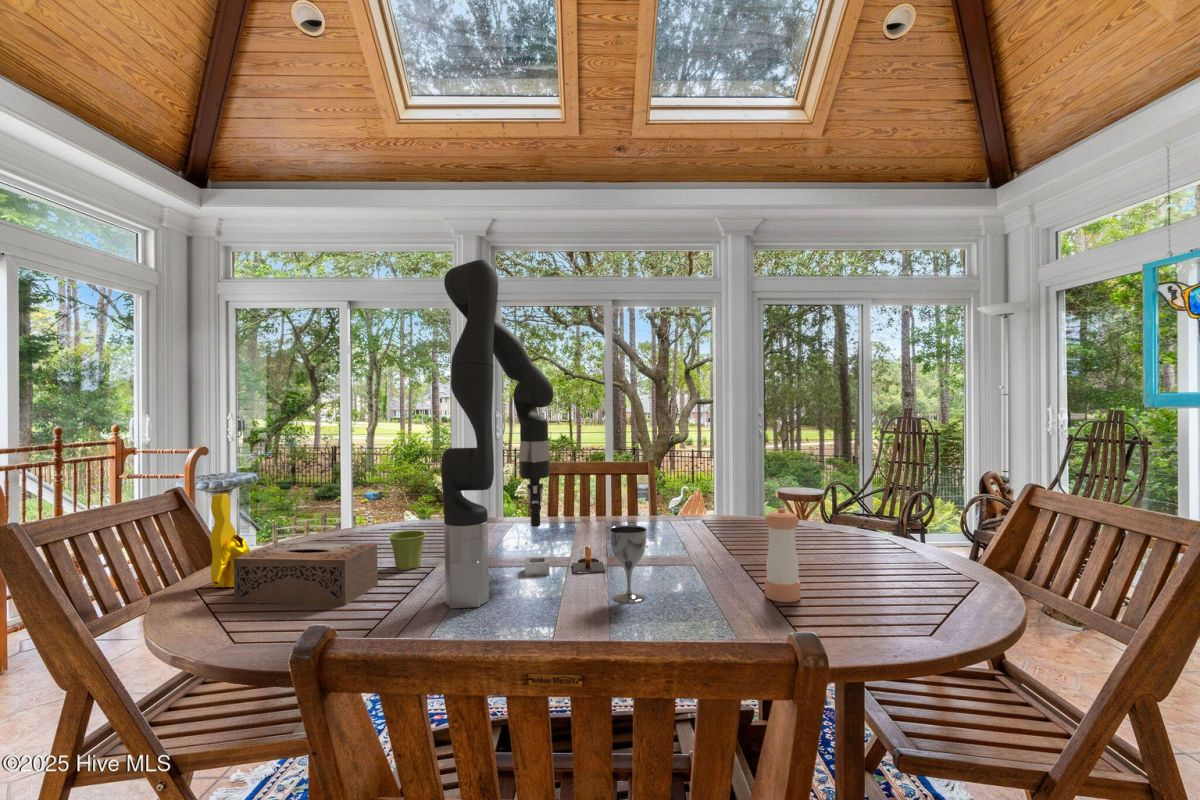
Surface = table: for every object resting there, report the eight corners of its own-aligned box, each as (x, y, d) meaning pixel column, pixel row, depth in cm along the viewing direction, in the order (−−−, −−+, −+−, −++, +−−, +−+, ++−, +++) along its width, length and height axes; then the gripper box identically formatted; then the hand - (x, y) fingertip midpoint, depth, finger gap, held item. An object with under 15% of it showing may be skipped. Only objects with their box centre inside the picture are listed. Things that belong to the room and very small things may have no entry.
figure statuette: (225, 597, 136) (223, 499, 136) (189, 597, 136) (188, 500, 136) (266, 574, 154) (265, 488, 154) (235, 575, 154) (234, 489, 154)
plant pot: (420, 572, 153) (419, 538, 153) (383, 572, 154) (383, 538, 154) (431, 562, 163) (430, 530, 163) (396, 562, 163) (396, 530, 163)
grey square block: (549, 575, 149) (549, 562, 149) (525, 576, 148) (524, 563, 148) (549, 568, 155) (549, 556, 155) (525, 569, 154) (525, 557, 154)
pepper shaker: (758, 593, 132) (757, 506, 132) (785, 589, 135) (784, 504, 135) (779, 604, 125) (778, 512, 125) (807, 599, 128) (806, 509, 128)
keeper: (605, 572, 150) (605, 550, 150) (573, 573, 149) (573, 551, 149) (602, 563, 158) (602, 542, 158) (572, 565, 157) (571, 543, 157)
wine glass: (617, 605, 126) (615, 534, 126) (606, 594, 133) (605, 526, 133) (652, 601, 128) (651, 531, 128) (640, 590, 136) (639, 524, 136)
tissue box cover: (377, 585, 143) (377, 544, 143) (345, 606, 129) (344, 560, 129) (276, 583, 146) (276, 542, 146) (234, 604, 132) (233, 558, 132)
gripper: (520, 455, 158) (521, 517, 159) (518, 462, 144) (520, 529, 144) (548, 455, 159) (549, 516, 159) (550, 461, 145) (551, 528, 145)
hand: (535, 522), depth 152 cm, fingers open, 8 cm apart
